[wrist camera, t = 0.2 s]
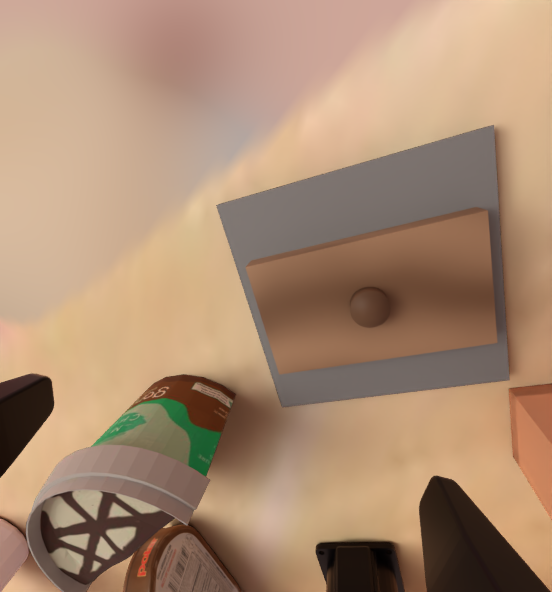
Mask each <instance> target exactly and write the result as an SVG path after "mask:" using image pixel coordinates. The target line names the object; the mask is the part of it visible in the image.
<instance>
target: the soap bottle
mask: <svg viewBox="0 0 552 592" xmlns="http://www.w3.org/2000/svg"><path fill="white" fill-rule="evenodd" d="M28 555H29V547H28V543H27V541H26V539H25V537H24V535H23V534H22V533H21V532H20V531H19V530H18V529H17V528H16V527H14V526H13V525H11V524H10V523H8V522H7V521H5V520H3V519H0V592H1V591H2V590H3V589H4V587H5V586H6V585H7V583H8V582H9V581H10V580H11V578H12V577H13V576H14V574H15V573H16V572H17V571H18V569H19V568H20V567H21V566H22V564H23V563H24V562H25V560H26V559H27V557H28Z"/></svg>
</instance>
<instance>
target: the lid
mask: <svg viewBox="0 0 552 592" xmlns="http://www.w3.org/2000/svg"><path fill="white" fill-rule="evenodd" d="M245 268H246V271H247V274H248V277H249V280H250V283H251V287H252V290H253V293H254V296H255V299H256V302H257V306H258V309H259V312H260V315H261V318H262V321H263V324H264V328H265V331H266V334H267V337H268V340H269V343H270V347H271V350H272V353H273V356H274V359H275V362H276V366H277V369H278V372H279V375H280V374H287V373H294V372H301V371H308V370H314V369H321V368H328V367H335V366H342V365H349V364H356V363H363V362H369V361H376V360H383V359H390V358H397V357H404V356H411V355H418V354H424V353H431V352H438V351H445V350H452V349H459V348H466V347H473V346H480V345H486V344H493V343H497V330H496V316H495V302H494V288H493V274H492V260H491V246H490V232H489V218H488V210H485V209H481V208H478V207H474V208H469V209H465V210H461V211H457V212H453V213H448V214H444V215H440V216H436V217H432V218H427V219H423V220H419V221H415V222H411V223H406V224H402V225H398V226H394V227H390V228H385V229H381V230H377V231H373V232H369V233H364V234H360V235H356V236H352V237H348V238H343V239H339V240H335V241H331V242H327V243H322V244H318V245H314V246H310V247H306V248H301V249H297V250H293V251H289V252H285V253H280V254H276V255H272V256H268V257H264V258H259V259H255V260H251V261H250V262H249V264H248V265H247V266H246V267H245Z"/></svg>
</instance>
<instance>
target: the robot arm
mask: <svg viewBox="0 0 552 592" xmlns="http://www.w3.org/2000/svg"><path fill="white" fill-rule="evenodd" d="M53 408H54V396H53V388H52V381H51V379H50V378H49V377H47V376H43V375H39V374H28V375H24V376H21V377H18V378H15V379H11V380H8V381H5V382H2V383H0V478H1V476H2V475H3V474H4V473H5V472H6V470H7V469H8V468H9V467H10V466H11V464H12V463H13V462H14V461H15V459H16V458H17V457H18V455H19V454H20V453H21V452H22V450H23V449H24V448H25V446H26V445H27V444H28V443H29V441H30V440H31V439H32V437H33V436H34V435H35V434H36V432H37V431H38V430H39V429H40V427H41V426H42V425H43V423H44V422H45V421H46V420H47V418H48V417H49V416H50V414H51V412H52V411H53ZM419 515H420V526H421V536H422V547H423V557H424V568H425V578H426V587H427V592H550V590H549V589H548V588H547V587H546V586H545V585H544V583H543V582H542V581H541V580H540V579H539V578H538V576H537V575H536V574H535V573H534V572H533V571H532V570H531V568H530V567H529V566H528V565H527V564H526V563H525V561H524V560H523V559H522V558H521V557H520V556H519V554H518V553H517V552H516V551H515V550H514V549H513V548H512V546H511V545H510V544H509V543H508V542H507V541H506V539H505V538H504V537H503V536H502V535H501V534H500V532H499V531H498V530H497V529H496V528H495V527H494V526H493V524H492V523H491V522H490V521H489V520H488V519H487V517H486V516H485V515H484V514H483V513H482V512H481V510H480V509H479V508H478V507H477V506H476V505H475V504H474V502H473V501H472V500H471V499H470V498H469V497H468V495H467V494H466V493H465V492H464V491H463V490H462V488H461V487H460V486H459V485H458V484H457V483H456V482H455V481H454V480H452V479H448V478H444V477H440V476H433V477H432V478H431V480H430V482H429V484H428V486H427V488H426V490H425V492H424V494H423V496H422V498H421V501H420V506H419ZM316 555H317V558H318V561H319V564H320V567H321V570H322V572H323V575H324V578H325V581H326V584H327V586H326V592H405V590H404V585H403V581H402V577H401V572H400V568H399V564H398V560H397V555H396V551H395V547H394V545H393V544H391V543H347V544H318V545H317V546H316Z"/></svg>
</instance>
